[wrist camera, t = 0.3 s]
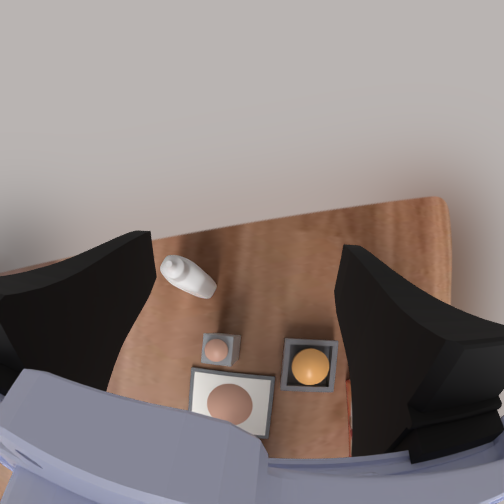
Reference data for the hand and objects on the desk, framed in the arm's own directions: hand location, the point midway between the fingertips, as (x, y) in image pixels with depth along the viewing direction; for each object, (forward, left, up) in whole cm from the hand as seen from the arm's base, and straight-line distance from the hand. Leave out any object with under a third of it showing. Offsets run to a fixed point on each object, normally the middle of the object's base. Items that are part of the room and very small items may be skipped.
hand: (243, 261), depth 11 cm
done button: (-7, -6, -27) cm, 28 cm away
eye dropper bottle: (+3, +9, -29) cm, 31 cm away
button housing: (-7, -6, -29) cm, 30 cm away
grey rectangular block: (-5, +4, -29) cm, 30 cm away
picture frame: (-13, +3, -29) cm, 32 cm away
